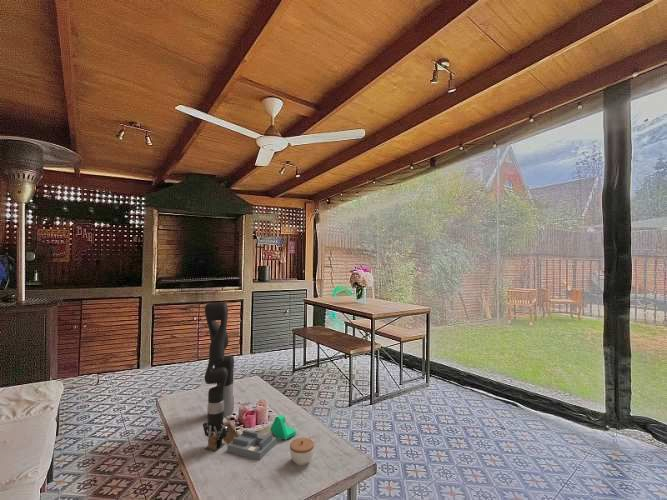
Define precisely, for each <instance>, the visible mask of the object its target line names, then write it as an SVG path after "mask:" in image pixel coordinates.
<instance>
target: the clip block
mask: <svg viewBox="0 0 667 500" xmlns="http://www.w3.org/2000/svg"><path fill="white" fill-rule="evenodd" d="M219 437H220V435H219ZM207 441H208V443H207V447H208V448H210V449H214V450H215V449H217V436H216V434H215V433H214V435H213V436H211V437H210V438H207Z"/></svg>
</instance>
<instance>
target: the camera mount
mask: <svg viewBox="0 0 667 500" xmlns="http://www.w3.org/2000/svg"><path fill="white" fill-rule="evenodd" d="M285 423H286V417H285V415H284V414H279V415H277V416H275V418H274V419H273V422H272V424H271V426H270V428H269V430H270V432H271V433H272V434H274V436H275V438H278V439H282V440H288V439H291V438H292V437H294V436H296V434H297V430H296V429H294V428H293V427H290V426H289V425H286V424H285Z"/></svg>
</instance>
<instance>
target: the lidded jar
mask: <svg viewBox="0 0 667 500" xmlns="http://www.w3.org/2000/svg"><path fill="white" fill-rule="evenodd" d="M314 448H315V442H314V441H313V440H312V439H311V438H308V437H298V438H295V439H293V440H292V441H291V442H290V444H289V449H290V450H289V452H290V453H289V454H290V458H291V460H292V461H293V462H294V464H295V465H298V466H301V467H302V466H303V467H304V466H306V465H308V464H309V462H310V461H311V460H312V459H313V456H314V450H315V449H314Z"/></svg>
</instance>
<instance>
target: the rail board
mask: <svg viewBox="0 0 667 500" xmlns="http://www.w3.org/2000/svg"><path fill="white" fill-rule="evenodd" d="M256 445H259V447H256ZM276 445H277V437H276V436H275V437H274V436H273V433H272V432H271V433H269V434H267V435H266V434H261V433H259V432H256V431H252V430H248V429H243V430H242V433H241V434H240V435H238V436H237V437H236V436H233V437H232V441H231V442H230V443H228V444H227V446H226V447H227V452H228V453H232V454H237V455H239V456H244V457H247V458H251V459H254V460H262V459H263V458H264V457H265V456H266V455H267V454H268V453H269V452H270V451H271V450H272V449H273V448H274V447H275V446H276Z"/></svg>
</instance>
